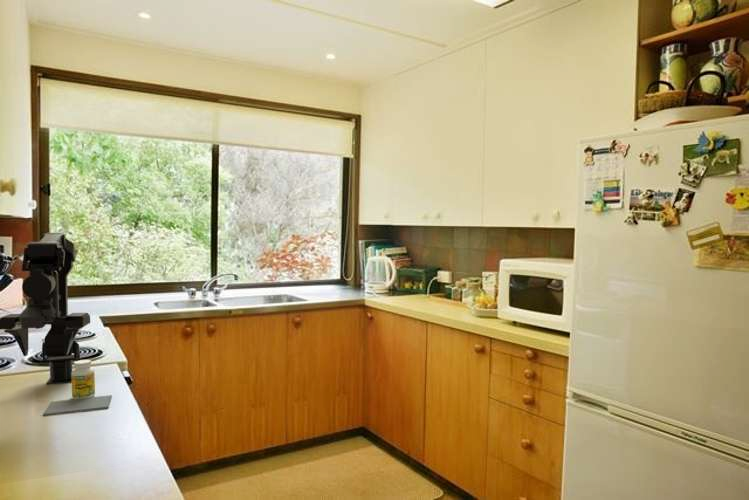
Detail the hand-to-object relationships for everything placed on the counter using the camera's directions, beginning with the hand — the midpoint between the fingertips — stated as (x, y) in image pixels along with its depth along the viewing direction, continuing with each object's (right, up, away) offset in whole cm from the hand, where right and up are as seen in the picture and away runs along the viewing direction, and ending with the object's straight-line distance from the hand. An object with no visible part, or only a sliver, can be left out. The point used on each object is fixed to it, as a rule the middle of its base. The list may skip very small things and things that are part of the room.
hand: (46, 355), depth 125 cm
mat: (+6, -14, +3) cm, 15 cm away
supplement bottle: (+3, -14, +10) cm, 17 cm away
